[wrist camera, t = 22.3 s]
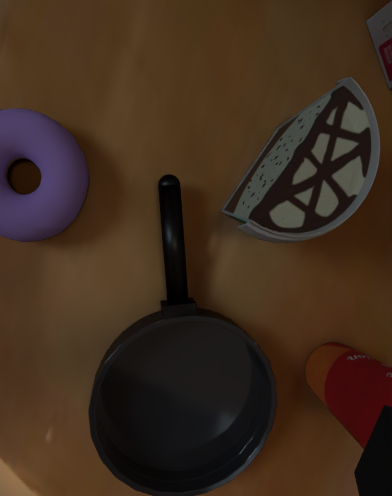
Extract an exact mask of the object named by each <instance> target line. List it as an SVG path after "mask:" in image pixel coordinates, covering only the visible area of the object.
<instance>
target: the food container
mask: <svg viewBox="0 0 392 496" xmlns="http://www.w3.org/2000/svg"><path fill="white" fill-rule="evenodd" d="M336 84H337V86H336V87H334V88H333V89H332V90H330V91H329V92H327V93H326V94H324V95H323V96H322V97H320V98H319V99H317V100H316V101H314V102H313V103H312V104H310V105H309V106H307V107H306V108H305V109H303V110H302V111H300V112H299V113H297V114H296V115H295V116H293V117H292V118H290V119H289V120H287V121H286V122H285V123H283V124H282V125H280V126H279V127H278V128H277V129H276V131H275V132H274V134H273V135H272V137H271V138H270V140H269V141H268V143H267V144H266V145H265V147H264V148H263V150H262V151H261V153H260V154H259V156H258V157H257V159H256V160H255V162H254V163H253V164H252V166H251V167H250V169H249V170H248V172H247V173H246V175H245V176H244V178H243V179H242V181H241V182H240V183H239V185H238V186H237V188H236V189H235V191H234V192H233V194H232V195H231V197H230V198H229V200H228V201H227V202H226V204H225V205H224V207H223V208H222V210H221V212H222V213H224V214H226V215H227V216H229V217H231V218H233V219H235V220H238V221H240V222H243V223H246V224H243V225H240V226H238V229H240V230H242V231H243V232H245V233H247V234H248V235H251V236H253V237H256V238H258V239H261V240H265V241H269V242H274V243H293V242H300V241H304V240H307V239H311V238H314V237H318V236H321V235H323V234H325V233H327V232H329V231H332V230H333V229H335V228H336V227H338V226H339V225H341V224H342V223H343V222H344V221H346V220H347V219H348V218H349V217H350V216H351V215H352V214H353V213H354V212H355V211H356V210H357V209H358V207H359V206H360V205H361V204H362V202H363V201H364V200H365V198H366V196H367V194H368V193H369V191H370V189H371V187H372V184H373V182H374V179H375V177H376V173H377V168H378V164H379V156H380V135H379V129H378V124H377V120H376V117H375V114H374V111H373V108H372V106H371V104H370V102H369V100H368V98H367V96H366V95H365V93H364V92H363V91H362V89H361V88H360V86H359V85H358V84H357V83H356V82H355V81H354V80H353V78H352V77H349V78H347V77H346V78H344V79H342V80H339V81H337V82H336Z"/></svg>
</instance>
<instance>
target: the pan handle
mask: <svg viewBox="0 0 392 496" xmlns="http://www.w3.org/2000/svg"><path fill="white" fill-rule="evenodd" d="M158 189H159V202H160V215H161V227H162V240H163V253H164V265H165V278H166V291H167V300H163V301H161V312H162V316H163V319H164V320H166V319H168V320H169V318H177V317H185V316H197V305H196V302H195V300H194V299H193V298H192V297H190V298H188V284H187V271H186V257H185V243H184V229H183V216H182V202H181V188H180V182H179V180H178V178H177V177H175V176H174V175H170V174H168V175H164V176H163V177H162V178H161V179H160V180H159V183H158Z"/></svg>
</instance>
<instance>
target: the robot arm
mask: <svg viewBox="0 0 392 496" xmlns="http://www.w3.org/2000/svg"><path fill="white" fill-rule="evenodd" d="M354 473H355V478H356V482H357V487H358V491H359V496H392V407H391V406H387V405H384V406H383V408H382V410H381V413H380V415H379V417H378V420H377V422H376V424H375V426H374V429H373V431H372V433H371V435H370V438H369V440H368V442H367V445H366V447H365V449H364V451H363V454H362V456H361V458H360V460H359V463H358V465H357V467H356V470H355V472H354Z"/></svg>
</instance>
